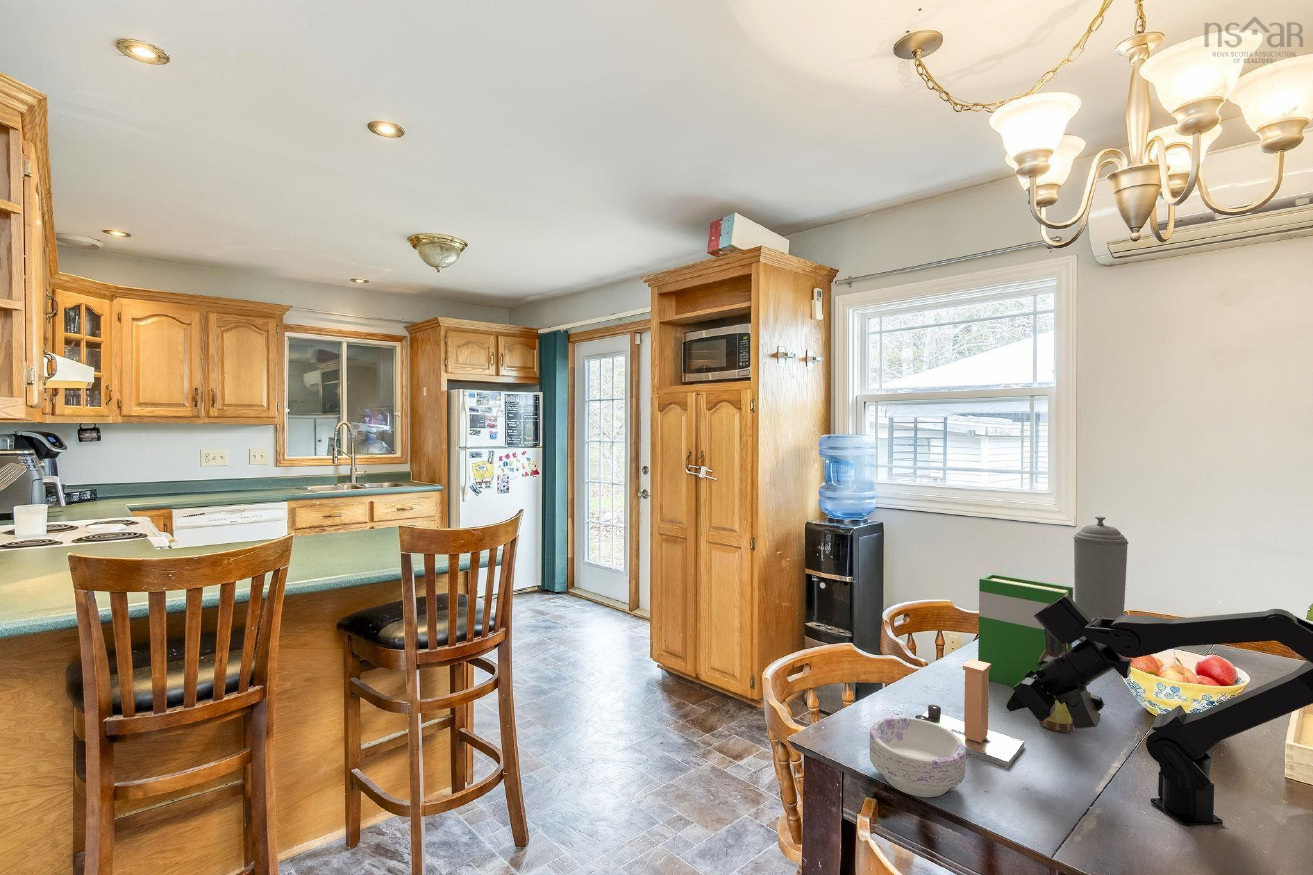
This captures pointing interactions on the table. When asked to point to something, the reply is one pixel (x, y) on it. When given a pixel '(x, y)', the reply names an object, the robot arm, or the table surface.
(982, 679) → the fader tab
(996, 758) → the fader console
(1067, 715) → the sauce bottle
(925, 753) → the paper bowls
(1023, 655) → the hardback book
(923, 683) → the table surface
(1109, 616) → the canister
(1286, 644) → the robot arm
